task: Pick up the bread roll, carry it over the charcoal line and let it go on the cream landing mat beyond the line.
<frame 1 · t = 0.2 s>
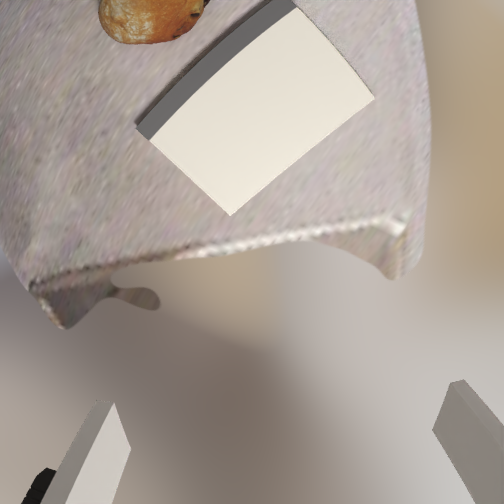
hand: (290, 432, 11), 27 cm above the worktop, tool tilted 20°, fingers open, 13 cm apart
bread roll: (159, 3, 24), on the worktop
landing mat: (254, 105, 30), on the worktop
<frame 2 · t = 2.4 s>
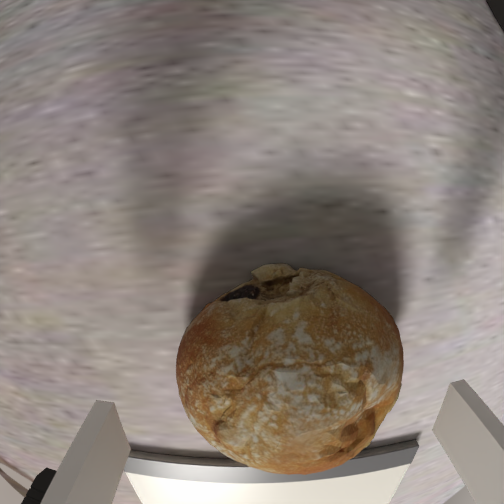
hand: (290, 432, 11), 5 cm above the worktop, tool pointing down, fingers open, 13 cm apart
bread roll: (294, 357, 16), on the worktop
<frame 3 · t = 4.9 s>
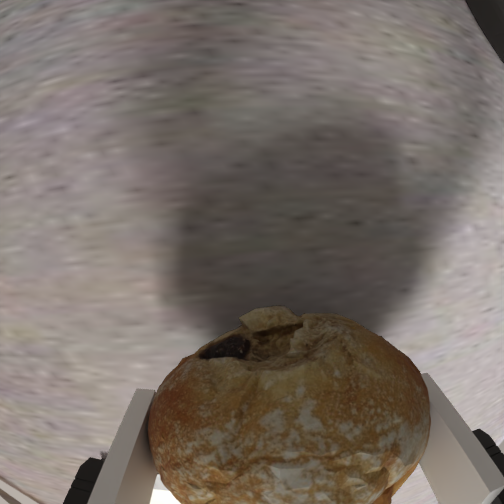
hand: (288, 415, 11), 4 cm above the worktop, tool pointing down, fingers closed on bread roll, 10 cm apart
bread roll: (293, 411, 12), point 3 cm above the worktop, touching gripper
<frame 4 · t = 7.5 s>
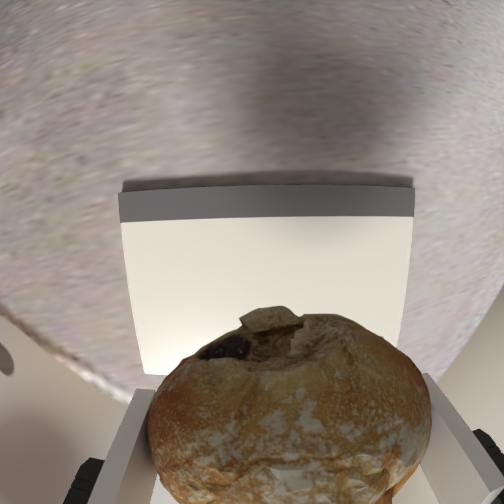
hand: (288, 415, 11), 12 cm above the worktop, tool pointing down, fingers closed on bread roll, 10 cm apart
bread roll: (294, 411, 12), point 11 cm above the worktop, touching gripper
landing mat: (271, 287, 22), on the worktop
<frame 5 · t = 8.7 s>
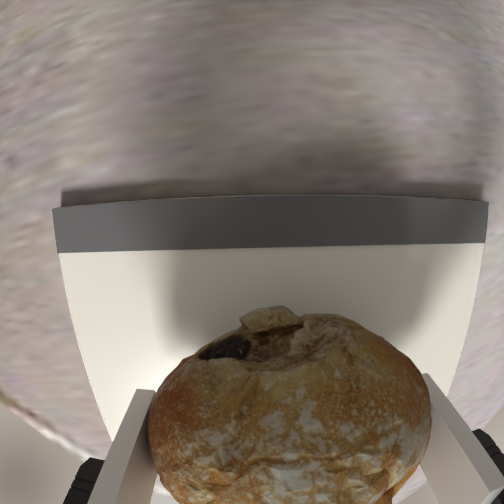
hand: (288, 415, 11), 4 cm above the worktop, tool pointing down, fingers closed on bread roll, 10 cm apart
bread roll: (294, 411, 12), point 3 cm above the worktop, touching gripper
landing mat: (282, 348, 15), on the worktop
when the fingers open (2 cm above the worktop, at t = 10.0 s): bread roll drops 1 cm, resting on landing mat.
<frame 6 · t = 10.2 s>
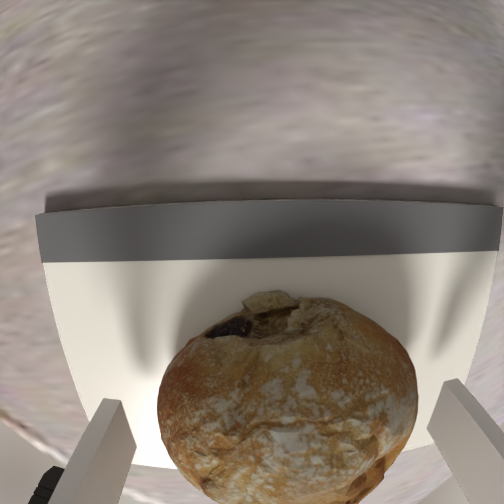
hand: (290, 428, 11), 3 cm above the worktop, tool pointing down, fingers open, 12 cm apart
bread roll: (292, 392, 13), resting on landing mat
landing mat: (283, 365, 13), on the worktop
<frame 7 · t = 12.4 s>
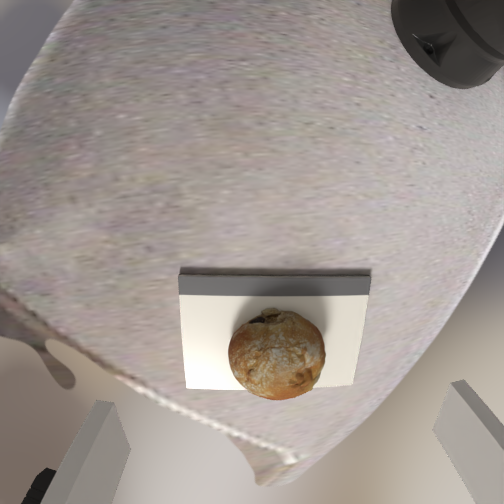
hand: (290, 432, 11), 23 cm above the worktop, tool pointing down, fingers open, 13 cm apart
bread roll: (277, 348, 35), resting on landing mat
landing mat: (274, 336, 35), on the worktop
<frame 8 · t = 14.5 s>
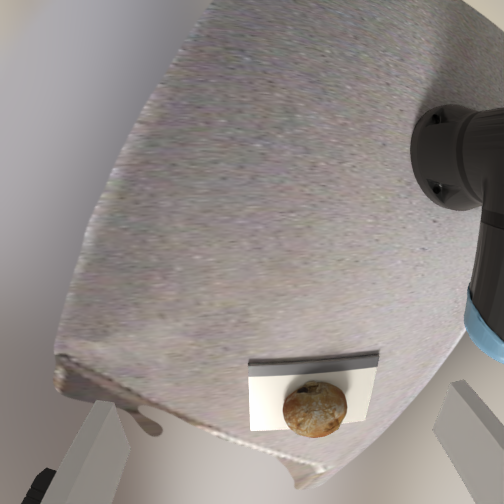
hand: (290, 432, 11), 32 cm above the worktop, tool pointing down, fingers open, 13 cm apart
bread roll: (314, 402, 47), resting on landing mat
landing mat: (312, 395, 48), on the worktop
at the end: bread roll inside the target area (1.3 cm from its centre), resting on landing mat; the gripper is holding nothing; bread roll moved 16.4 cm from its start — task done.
